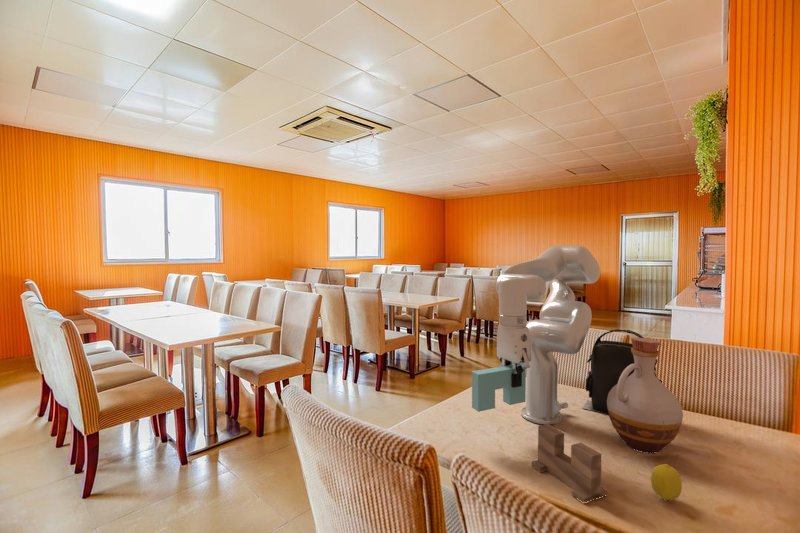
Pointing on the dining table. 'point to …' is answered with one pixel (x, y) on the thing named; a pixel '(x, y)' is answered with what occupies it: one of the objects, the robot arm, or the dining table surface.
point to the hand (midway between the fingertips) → (512, 383)
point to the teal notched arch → (495, 387)
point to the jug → (644, 403)
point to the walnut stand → (570, 464)
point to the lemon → (666, 482)
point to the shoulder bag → (607, 369)
